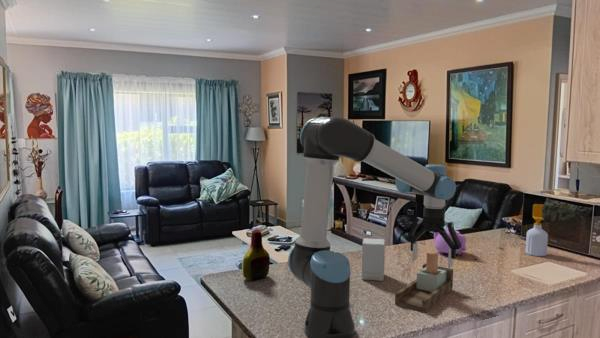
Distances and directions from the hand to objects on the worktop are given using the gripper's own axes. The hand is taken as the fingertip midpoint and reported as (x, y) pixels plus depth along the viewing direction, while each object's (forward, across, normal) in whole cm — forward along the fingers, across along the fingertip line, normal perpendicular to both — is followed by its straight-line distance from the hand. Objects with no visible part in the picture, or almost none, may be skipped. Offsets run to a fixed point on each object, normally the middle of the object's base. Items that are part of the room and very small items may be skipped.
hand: (432, 263), depth 167 cm
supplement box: (+11, +25, -1) cm, 27 cm away
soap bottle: (+11, -21, -79) cm, 83 cm away
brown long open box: (+11, 0, +6) cm, 12 cm away
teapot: (+11, +13, -54) cm, 57 cm away
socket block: (+9, 0, 0) cm, 9 cm away
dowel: (+7, 0, 0) cm, 7 cm away
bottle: (+11, +61, +30) cm, 69 cm away
